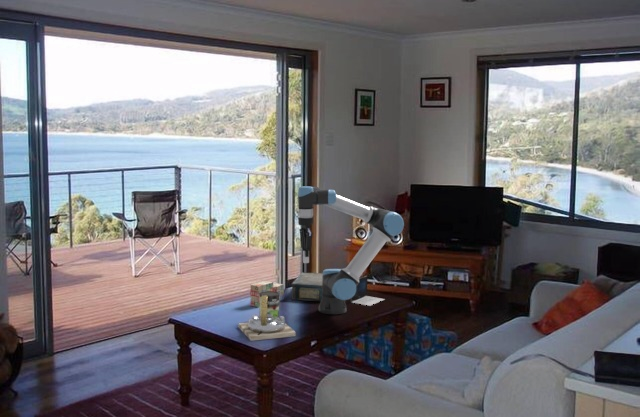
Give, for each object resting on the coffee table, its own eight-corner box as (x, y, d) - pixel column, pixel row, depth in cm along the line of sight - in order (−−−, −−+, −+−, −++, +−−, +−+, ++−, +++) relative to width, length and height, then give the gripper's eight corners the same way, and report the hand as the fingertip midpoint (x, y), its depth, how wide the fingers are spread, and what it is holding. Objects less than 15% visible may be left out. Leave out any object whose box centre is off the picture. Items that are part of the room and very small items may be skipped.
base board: (238, 327, 328) (238, 323, 328) (280, 323, 337) (280, 319, 336) (250, 340, 308) (250, 336, 308) (295, 336, 316) (295, 331, 316)
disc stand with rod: (252, 320, 332) (252, 287, 330) (288, 322, 330) (288, 289, 328) (243, 331, 314) (244, 296, 312) (281, 333, 312) (281, 298, 310)
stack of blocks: (275, 298, 386) (275, 277, 384) (283, 300, 382) (283, 279, 380) (250, 305, 369) (250, 284, 367) (258, 307, 365) (258, 286, 363)
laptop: (369, 307, 372) (370, 284, 370) (350, 303, 379) (351, 281, 377) (385, 300, 387) (385, 278, 385) (366, 297, 394) (366, 275, 392)
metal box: (290, 300, 383) (290, 283, 381) (300, 287, 414) (300, 271, 413) (326, 302, 379) (327, 285, 378) (334, 289, 411) (334, 273, 410)
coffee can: (282, 321, 341) (283, 294, 339) (265, 324, 334) (266, 297, 333) (272, 316, 349) (272, 290, 347) (255, 319, 343) (255, 292, 341)
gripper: (294, 215, 341) (294, 260, 344) (303, 219, 329) (303, 265, 332) (308, 215, 343) (308, 259, 346) (317, 218, 331) (317, 264, 334)
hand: (306, 262), depth 339 cm, fingers closed
